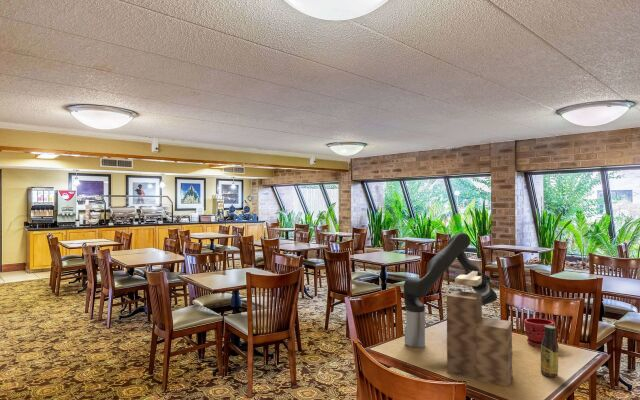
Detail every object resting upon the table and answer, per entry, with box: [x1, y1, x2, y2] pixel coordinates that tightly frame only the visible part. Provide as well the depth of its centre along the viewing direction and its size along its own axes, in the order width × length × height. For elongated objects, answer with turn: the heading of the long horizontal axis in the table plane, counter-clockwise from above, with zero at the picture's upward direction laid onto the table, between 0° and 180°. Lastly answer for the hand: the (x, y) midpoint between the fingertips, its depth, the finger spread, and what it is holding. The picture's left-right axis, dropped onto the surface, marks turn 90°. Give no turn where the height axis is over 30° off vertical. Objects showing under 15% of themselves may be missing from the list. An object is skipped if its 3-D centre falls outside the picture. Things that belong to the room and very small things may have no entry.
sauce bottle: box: [540, 325, 559, 378], centre depth 159 cm, size 6×6×20 cm
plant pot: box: [523, 317, 555, 348], centre depth 194 cm, size 13×13×12 cm
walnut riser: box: [446, 290, 513, 388], centre depth 160 cm, size 23×12×32 cm, turn 57°
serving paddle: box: [454, 271, 482, 287], centre depth 175 cm, size 9×22×2 cm, turn 147°
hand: (473, 273), depth 179 cm, fingers closed on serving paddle, 3 cm apart
